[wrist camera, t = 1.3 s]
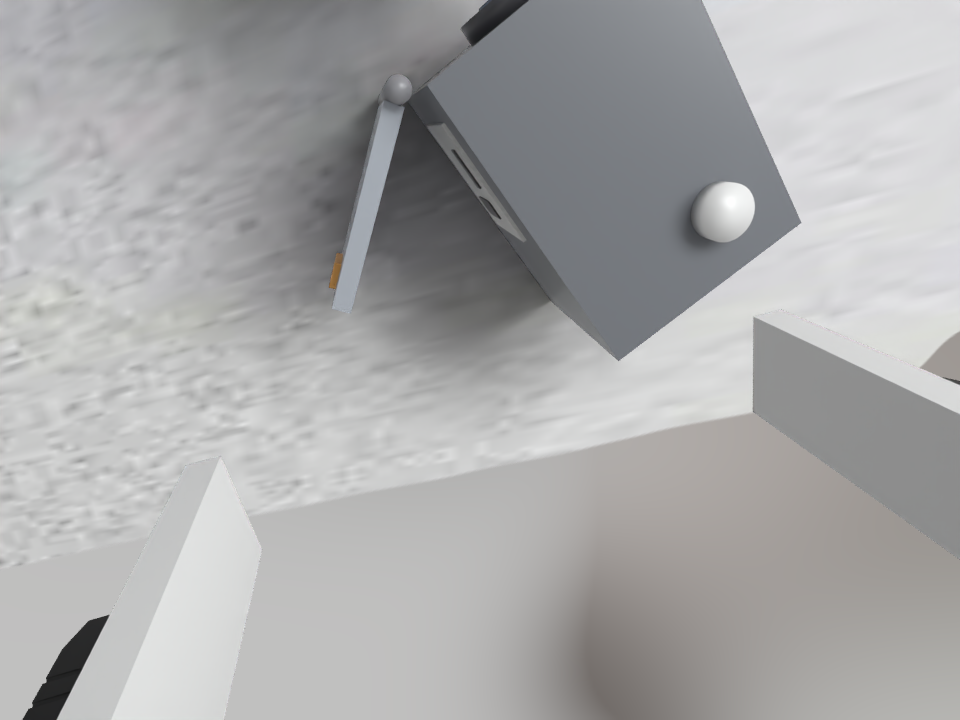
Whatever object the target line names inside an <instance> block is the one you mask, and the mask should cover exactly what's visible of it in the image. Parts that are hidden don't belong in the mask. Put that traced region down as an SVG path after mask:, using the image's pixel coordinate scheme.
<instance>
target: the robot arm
mask: <svg viewBox="0 0 960 720" xmlns="http://www.w3.org/2000/svg"><path fill="white" fill-rule="evenodd" d="M753 412H754V413H755V414H757V415H758V416H759V417H761V418H762V419H764V420H765V421H766V422H768V423H769V424H771V425H772V426H773V427H775V428H776V429H778V430H779V431H780V432H782V433H783V434H785V435H786V436H787V437H789V438H790V439H792V440H793V441H794V442H796V443H797V444H799V445H800V446H801V447H803V448H804V449H806V450H807V451H808V452H810V453H811V454H813V455H814V456H816V457H817V458H819V459H820V460H821V461H822V462H824V463H825V464H827V465H828V466H829V467H831V468H832V469H834V470H835V471H836V472H838V473H839V474H841V475H842V476H843V477H845V478H846V479H848V480H849V481H851V482H852V483H853V484H855V485H856V486H857V487H859V488H860V489H862V490H863V491H864V492H866V493H867V494H869V495H870V496H871V497H873V498H874V499H876V500H877V501H878V502H880V503H881V504H883V505H884V506H885V507H887V508H888V509H889V510H891V511H893V512H894V513H895V514H897V515H898V516H899V517H901V518H902V519H904V520H905V521H906V522H908V523H909V524H911V525H912V526H913V527H915V528H916V529H918V530H919V531H920V532H922V533H923V534H924V535H926V536H927V537H929V538H930V539H931V540H933V541H934V542H936V543H937V544H938V545H940V546H941V547H943V548H944V549H946V550H947V551H948V552H950V553H951V554H953V555H954V556H955V557H957V558H958V559H959V560H960V381H957V380H953V379H948V378H944V377H939V376H937V375H935V374H932V373H930V372H928V371H925V370H923V369H921V368H918V367H916V366H914V365H911V364H909V363H906V362H904V361H902V360H899V359H897V358H895V357H892V356H890V355H888V354H885V353H883V352H881V351H878V350H876V349H874V348H871V347H869V346H866V345H864V344H862V343H859V342H857V341H855V340H852V339H850V338H848V337H845V336H843V335H841V334H838V333H836V332H834V331H831V330H829V329H827V328H824V327H822V326H819V325H817V324H815V323H812V322H810V321H808V320H805V319H803V318H801V317H798V316H796V315H794V314H791V313H789V312H787V311H784V310H782V309H781V310H777V311H773V312H769V313H765V314H762V315H758V316H754V325H753ZM261 553H262V548H261V546H260V544H259V541H258V539H257V537H256V534H255V532H254V530H253V528H252V525H251V523H250V521H249V519H248V516H247V514H246V512H245V510H244V507H243V505H242V503H241V501H240V498H239V496H238V494H237V492H236V489H235V487H234V485H233V482H232V480H231V478H230V476H229V473H228V471H227V469H226V467H225V464H224V462H223V460H222V458H221V456H219V457H215V458H211V459H207V460H203V461H200V462H196V463H192V464H188V465H186V466H185V468H184V470H183V472H182V474H181V476H180V478H179V480H178V482H177V484H176V486H175V488H174V490H173V492H172V494H171V496H170V498H169V500H168V501H167V503H166V505H165V507H164V509H163V511H162V513H161V515H160V517H159V519H158V521H157V523H156V525H155V527H154V529H153V531H152V533H151V535H150V537H149V539H148V541H147V543H146V545H145V547H144V549H143V551H142V553H141V555H140V557H139V559H138V561H137V563H136V564H135V566H134V569H133V570H132V572H131V574H130V576H129V579H128V580H127V582H126V584H125V586H124V588H123V590H122V592H121V594H120V596H119V598H118V600H117V602H116V604H115V606H114V608H113V610H112V612H111V614H110V615H107V616H104V617H100V618H97V619H93V620H90V621H88V622H87V623H86V624H85V625H84V627H83V628H82V629H81V630H80V631H79V632H78V633H77V634H76V635H75V636H74V637H73V638H72V639H71V641H70V642H69V643H68V644H67V645H66V646H65V647H64V648H63V649H62V651H61V653H60V654H59V656H58V658H57V660H56V661H55V663H54V665H53V667H52V668H51V670H50V672H49V674H48V676H47V677H46V679H47V682H46V683H45V684H42V686H41V688H40V690H39V692H38V693H37V695H36V697H35V699H34V700H33V702H32V704H33V707H32V708H30V709H28V711H27V713H26V715H25V716H24V718H23V720H224V717H225V713H226V709H227V704H228V699H229V695H230V690H231V686H232V682H233V677H234V673H235V668H236V664H237V659H238V655H239V651H240V646H241V642H242V637H243V633H244V629H245V624H246V620H247V615H248V610H249V606H250V602H251V597H252V593H253V589H254V584H255V580H256V575H257V570H258V566H259V562H260V557H261Z"/></svg>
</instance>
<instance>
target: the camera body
mask: <svg viewBox="0 0 960 720" xmlns="http://www.w3.org/2000/svg"><path fill="white" fill-rule="evenodd" d="M461 30H462V32H463V33H464V35H465V36H466V38H467V39H468V41H469V42H470V44H471V46H470V47H469V48H467V49H466V50H465V51H464V52H463V53H461V54H460V55H459V56H458V57H457V58H455V59H454V60H453V61H452V62H451V63H449V64H448V65H447V66H446V67H444V68H443V69H442V70H441V71H440V72H438V73H437V74H436V75H435V76H434V77H432V78H431V79H430V80H429V81H428V82H426V83H425V84H424V85H423V86H422V87H420V88H419V89H418V90H417V91H416V92H414V93H413V94H412V95H411V97H410V99H409V100H408V102H409V104H410V105H411V107H412V108H413V109H414V111H415V112H416V114H417V115H418V116H419V118H420V119H421V121H422V122H423V123H424V125H425V126H426V127H427V129H428V130H429V132H430V133H431V134H432V136H433V137H434V139H435V140H436V141H437V143H438V144H439V146H440V147H441V148H442V150H443V151H444V153H445V154H446V155H447V157H448V158H449V159H450V161H451V162H452V164H453V165H454V166H455V168H456V169H457V171H458V172H459V173H460V175H461V176H462V178H463V179H464V180H465V182H466V183H467V185H468V186H469V187H470V189H471V190H472V192H473V193H474V194H475V196H476V197H477V198H478V200H479V201H480V203H481V204H482V205H483V207H484V208H485V210H486V211H487V212H488V214H489V215H490V217H491V218H492V219H493V221H494V222H495V224H496V225H497V226H498V228H499V229H500V230H501V232H502V233H503V235H504V236H505V237H506V239H507V240H508V242H509V243H510V244H511V246H512V247H513V249H514V250H515V251H516V253H517V254H518V256H519V257H520V258H521V260H522V261H523V262H524V264H525V265H526V267H527V268H528V269H529V271H530V272H531V274H532V275H533V276H534V278H535V279H536V281H537V282H538V283H539V285H540V286H541V288H542V289H543V290H544V292H545V293H546V294H547V296H548V297H549V299H550V300H551V301H552V302H553V303H554V304H555V305H556V306H557V307H558V308H559V309H561V310H562V311H563V312H564V313H565V314H566V315H567V316H568V317H570V318H571V319H572V320H573V321H574V322H575V323H576V324H577V325H579V326H580V327H581V328H582V329H583V330H584V331H585V332H586V333H588V334H589V335H590V336H591V337H592V338H593V339H594V340H595V341H597V342H598V343H599V344H600V345H601V346H602V347H603V348H604V349H606V350H607V351H608V352H609V353H610V354H611V355H612V356H613V357H615V358H616V359H617V360H618V361H619V360H621V359H622V358H623V357H624V356H626V355H627V354H628V353H630V352H631V351H632V350H634V349H635V348H636V347H638V346H639V345H640V344H642V343H643V342H644V341H646V340H647V339H648V338H650V337H651V336H652V335H654V334H655V333H656V332H658V331H659V330H660V329H661V328H663V327H664V326H665V325H667V324H668V323H669V322H671V321H672V320H673V319H675V318H676V317H677V316H679V315H680V314H681V313H683V312H684V311H685V310H687V309H688V308H689V307H691V306H692V305H693V304H695V303H696V302H697V301H698V300H700V299H701V298H702V297H704V296H705V295H706V294H708V293H709V292H710V291H712V290H713V289H714V288H716V287H717V286H718V285H720V284H721V283H722V282H724V281H725V280H726V279H728V278H729V277H730V276H732V275H733V274H734V273H736V272H737V271H738V270H739V269H741V268H742V267H743V266H745V265H746V264H747V263H749V262H750V261H751V260H753V259H754V258H755V257H757V256H758V255H759V254H761V253H762V252H763V251H765V250H766V249H767V248H769V247H770V246H771V245H773V244H774V243H775V242H776V241H778V240H779V239H780V238H782V237H783V236H784V235H786V234H787V233H788V232H790V231H791V230H792V229H794V228H795V227H796V226H798V225H799V224H800V223H801V221H800V219H799V216H798V214H797V212H796V210H795V208H794V205H793V203H792V201H791V199H790V196H789V194H788V192H787V190H786V187H785V185H784V183H783V181H782V178H781V176H780V174H779V172H778V170H777V167H776V165H775V163H774V161H773V158H772V156H771V154H770V152H769V149H768V147H767V145H766V143H765V140H764V138H763V136H762V134H761V132H760V129H759V127H758V125H757V123H756V120H755V118H754V116H753V114H752V111H751V109H750V107H749V105H748V102H747V100H746V98H745V96H744V94H743V91H742V89H741V87H740V85H739V82H738V80H737V78H736V76H735V73H734V71H733V69H732V67H731V65H730V62H729V60H728V58H727V56H726V53H725V51H724V49H723V47H722V44H721V42H720V40H719V38H718V35H717V33H716V31H715V29H714V27H713V24H712V22H711V20H710V18H709V15H708V13H707V11H706V9H705V6H704V4H703V2H702V0H488V1H487V2H486V3H485V4H484V5H483V6H482V7H481V8H480V9H479V12H478V13H477V14H476V15H474V16H473V17H472V18H471V19H470V20H469V21H468V22H467V23H466V24H464V25H463V26H462V27H461Z"/></svg>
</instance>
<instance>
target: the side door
mask: <svg viewBox="0 0 960 720" xmlns="http://www.w3.org/2000/svg"><path fill="white" fill-rule="evenodd" d="M411 95H412V85H411V82H410V81H409V79H408V78H407V77H406V76H404V75H401V74H395V75H392V76H390V77H389V78H388V80H387V81H386V83H385V85H384V87H383V89H382V91H381V93H380V94H379V98H378V101H379V105H380V106H379V107H378V111H377V115H376V119H375V123H374V127H373V131H372V135H371V139H370V143H369V147H368V151H367V155H366V159H365V163H364V167H363V171H362V175H361V179H360V183H359V187H358V191H357V195H356V199H355V203H354V207H353V211H352V215H351V219H350V224H349V228H348V232H347V236H346V240H345V244H344V248H343V252H342V254H341V253H337V254H336V258H335V262H334V266H333V270H332V274H331V279H330V284H329V288H333V289H335V292H334V299H333V305H332V309H334V310H338V311H342V312H347V313H351V311H352V307H353V303H354V299H355V295H356V292H357V288H358V284H359V280H360V276H361V272H362V269H363V265H364V261H365V257H366V253H367V250H368V246H369V242H370V238H371V234H372V230H373V227H374V223H375V219H376V215H377V211H378V207H379V204H380V200H381V196H382V192H383V188H384V184H385V181H386V177H387V173H388V169H389V165H390V162H391V158H392V154H393V150H394V146H395V142H396V139H397V135H398V131H399V127H400V123H401V119H402V116H403V112H404V108H405V107H402V106H400V105H402V104H404V103H405V102H407V101H408V100H409V99H410V97H411Z"/></svg>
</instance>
